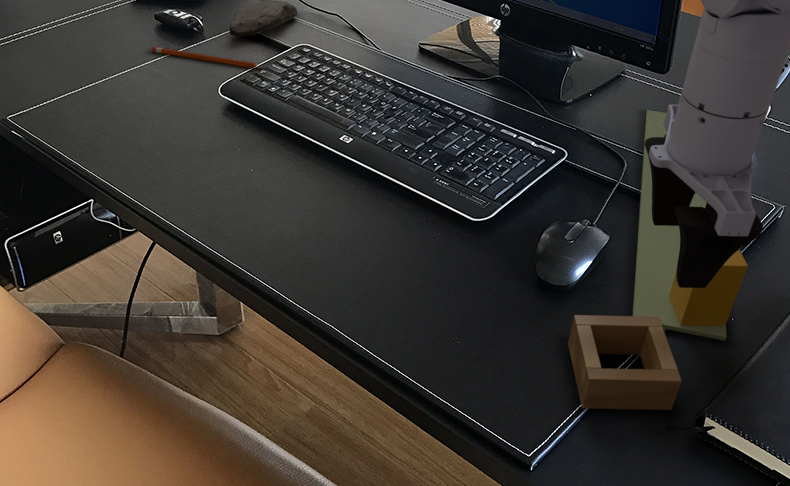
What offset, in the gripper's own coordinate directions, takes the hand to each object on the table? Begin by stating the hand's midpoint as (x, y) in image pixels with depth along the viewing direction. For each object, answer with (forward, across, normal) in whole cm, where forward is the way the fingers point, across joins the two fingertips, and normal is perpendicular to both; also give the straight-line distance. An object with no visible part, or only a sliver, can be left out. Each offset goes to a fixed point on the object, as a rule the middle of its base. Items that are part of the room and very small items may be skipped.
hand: (677, 252), depth 62 cm
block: (+10, -4, +5) cm, 12 cm away
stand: (+10, +4, -4) cm, 12 cm away
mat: (+10, -21, +8) cm, 25 cm away
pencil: (+11, -54, -49) cm, 74 cm away
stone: (+11, -66, -43) cm, 79 cm away
